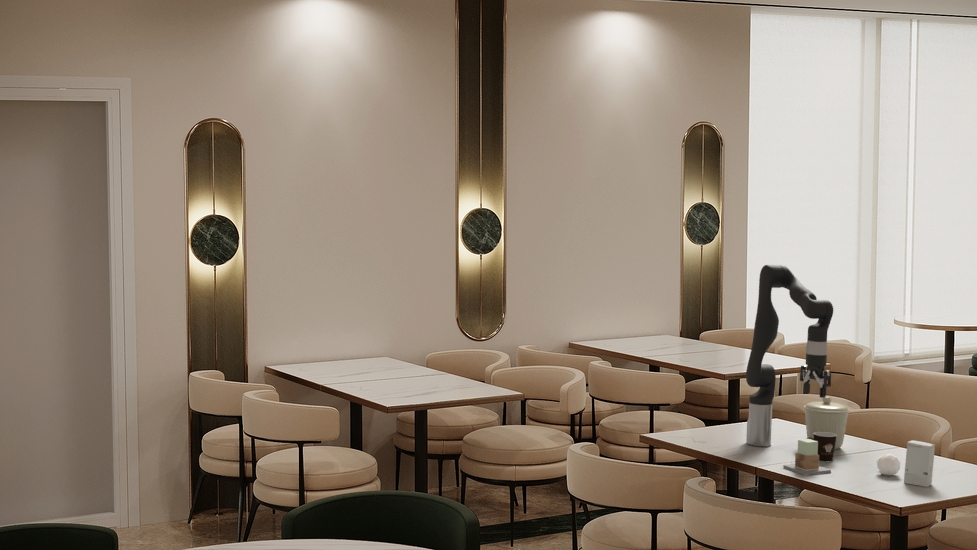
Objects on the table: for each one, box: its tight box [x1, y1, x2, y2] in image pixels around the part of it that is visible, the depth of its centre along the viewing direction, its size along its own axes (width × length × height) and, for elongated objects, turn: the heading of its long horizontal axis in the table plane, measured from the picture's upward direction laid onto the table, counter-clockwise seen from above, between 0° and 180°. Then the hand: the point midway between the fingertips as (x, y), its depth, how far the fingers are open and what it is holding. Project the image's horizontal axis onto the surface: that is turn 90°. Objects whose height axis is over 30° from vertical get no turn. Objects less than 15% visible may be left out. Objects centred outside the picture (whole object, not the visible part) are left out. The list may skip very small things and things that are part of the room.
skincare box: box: [903, 440, 936, 488], centre depth 359 cm, size 8×6×15 cm
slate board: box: [782, 463, 832, 476], centre depth 376 cm, size 12×12×1 cm
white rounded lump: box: [876, 453, 901, 476], centre depth 373 cm, size 8×8×12 cm
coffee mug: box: [806, 432, 837, 463], centre depth 394 cm, size 12×9×10 cm
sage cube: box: [797, 438, 818, 456], centre depth 376 cm, size 5×5×5 cm
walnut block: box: [794, 452, 820, 470], centre depth 376 cm, size 6×6×5 cm
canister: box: [803, 395, 851, 451], centre depth 415 cm, size 18×18×21 cm
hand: (814, 395), depth 382 cm, fingers open, 8 cm apart
